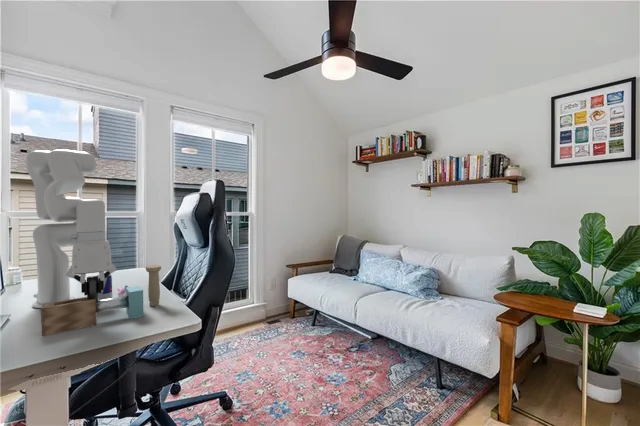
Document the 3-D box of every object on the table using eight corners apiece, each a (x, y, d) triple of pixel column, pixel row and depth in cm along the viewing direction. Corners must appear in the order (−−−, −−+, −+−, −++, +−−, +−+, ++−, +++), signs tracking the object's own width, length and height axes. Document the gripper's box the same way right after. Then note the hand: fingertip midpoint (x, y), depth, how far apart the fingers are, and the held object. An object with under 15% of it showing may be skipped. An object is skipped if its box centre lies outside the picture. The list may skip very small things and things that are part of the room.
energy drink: (115, 305, 115) (114, 274, 115) (100, 309, 111) (99, 277, 110) (107, 303, 118) (106, 273, 118) (91, 308, 113) (91, 276, 113)
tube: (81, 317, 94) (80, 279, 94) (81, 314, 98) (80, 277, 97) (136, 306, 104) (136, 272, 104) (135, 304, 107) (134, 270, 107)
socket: (129, 318, 101) (129, 292, 101) (126, 312, 107) (125, 287, 107) (143, 316, 104) (143, 290, 103) (139, 310, 110) (139, 285, 110)
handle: (150, 308, 111) (149, 268, 111) (144, 305, 116) (144, 266, 115) (164, 305, 115) (163, 266, 114) (158, 302, 119) (157, 264, 119)
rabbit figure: (138, 302, 124) (129, 290, 134) (138, 288, 123) (130, 277, 133) (120, 306, 119) (113, 292, 130) (120, 292, 118) (113, 279, 129)
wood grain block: (41, 336, 88) (41, 308, 88) (43, 329, 93) (42, 303, 92) (96, 324, 96) (95, 299, 96) (95, 319, 101) (94, 295, 101)
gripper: (57, 240, 90) (59, 301, 90) (122, 236, 100) (124, 291, 100) (58, 238, 95) (60, 295, 96) (120, 234, 106) (121, 286, 106)
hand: (92, 293), depth 98 cm, fingers closed on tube, 3 cm apart
